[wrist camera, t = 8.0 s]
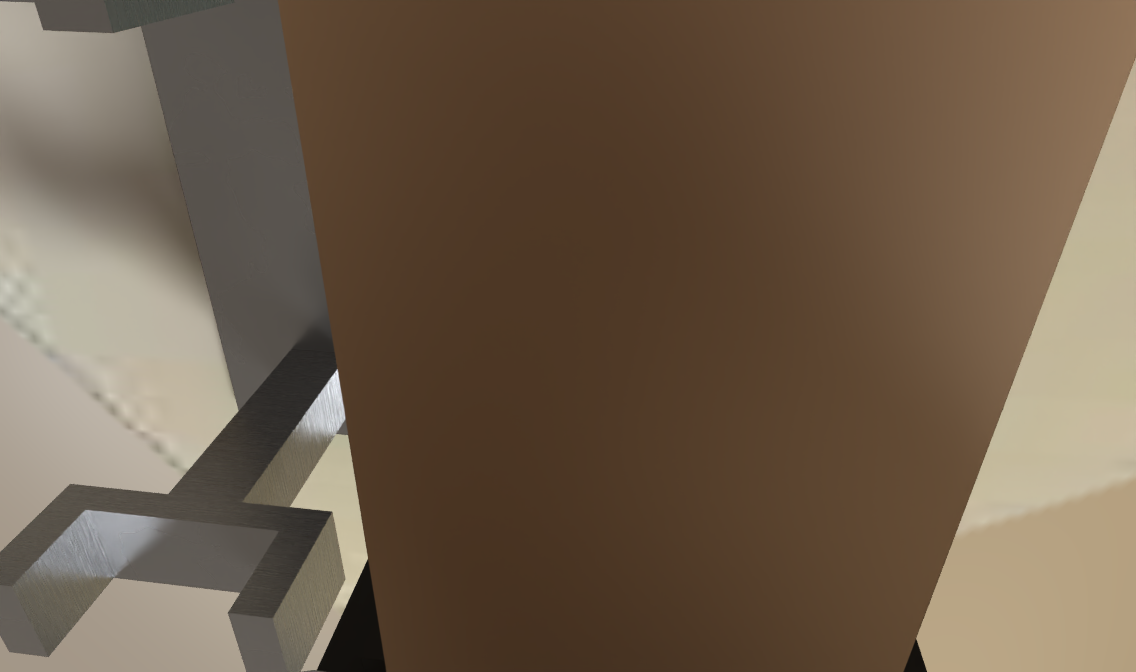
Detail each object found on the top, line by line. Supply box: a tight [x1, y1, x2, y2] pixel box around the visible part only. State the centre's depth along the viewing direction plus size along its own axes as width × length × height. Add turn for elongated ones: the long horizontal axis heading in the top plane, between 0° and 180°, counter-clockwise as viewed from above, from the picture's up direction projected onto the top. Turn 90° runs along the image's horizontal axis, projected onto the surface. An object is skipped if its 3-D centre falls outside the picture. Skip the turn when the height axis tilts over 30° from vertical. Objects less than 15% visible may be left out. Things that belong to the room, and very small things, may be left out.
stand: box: [0, 0, 348, 672], centre depth 18 cm, size 7×19×11 cm, turn 179°
